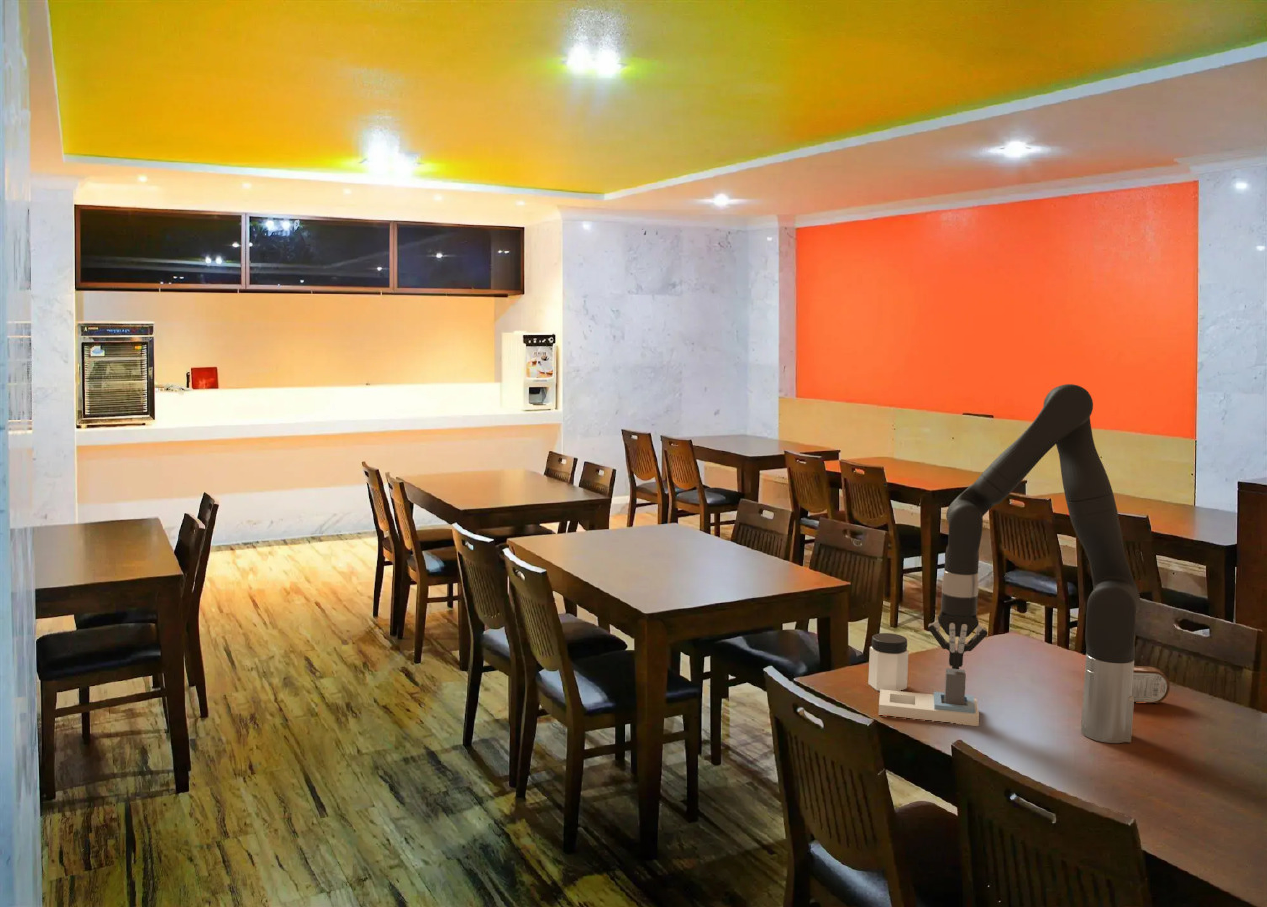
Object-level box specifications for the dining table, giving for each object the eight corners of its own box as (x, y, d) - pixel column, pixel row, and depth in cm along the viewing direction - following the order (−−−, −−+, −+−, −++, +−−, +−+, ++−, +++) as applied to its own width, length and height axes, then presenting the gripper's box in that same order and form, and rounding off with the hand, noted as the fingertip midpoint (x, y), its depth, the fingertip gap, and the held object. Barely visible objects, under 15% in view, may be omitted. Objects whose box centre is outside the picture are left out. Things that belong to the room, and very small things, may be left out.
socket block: (975, 709, 230) (976, 694, 230) (978, 726, 221) (979, 710, 220) (879, 699, 236) (880, 685, 235) (878, 715, 226) (879, 700, 226)
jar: (912, 691, 241) (914, 642, 239) (880, 694, 239) (882, 644, 238) (894, 678, 250) (896, 631, 248) (863, 681, 248) (865, 633, 246)
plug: (962, 712, 228) (964, 669, 227) (963, 719, 224) (965, 675, 223) (943, 711, 229) (945, 667, 228) (944, 717, 225) (946, 673, 224)
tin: (1164, 701, 237) (1167, 666, 236) (1170, 706, 234) (1173, 670, 233) (1097, 698, 238) (1099, 663, 237) (1101, 703, 235) (1104, 667, 234)
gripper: (990, 589, 225) (985, 665, 227) (928, 584, 229) (924, 659, 231) (993, 598, 218) (988, 676, 220) (928, 593, 221) (924, 670, 224)
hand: (955, 667), depth 225 cm, fingers closed
